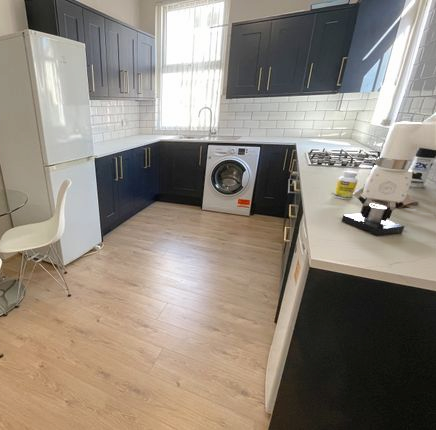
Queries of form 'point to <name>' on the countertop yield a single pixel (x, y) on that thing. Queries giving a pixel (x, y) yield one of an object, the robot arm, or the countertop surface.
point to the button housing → (398, 207)
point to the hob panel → (372, 225)
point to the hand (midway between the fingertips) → (373, 217)
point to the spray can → (422, 166)
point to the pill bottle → (346, 185)
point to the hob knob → (375, 213)
